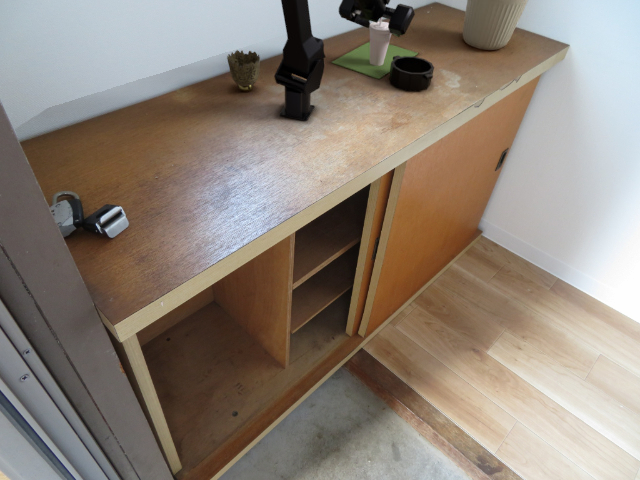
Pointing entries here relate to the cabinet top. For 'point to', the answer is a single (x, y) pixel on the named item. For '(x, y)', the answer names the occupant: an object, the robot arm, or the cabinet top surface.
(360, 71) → the cloth
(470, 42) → the canister
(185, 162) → the cabinet top surface
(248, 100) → the cabinet top surface
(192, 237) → the cabinet top surface
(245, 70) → the cup
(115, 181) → the cabinet top surface
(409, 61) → the pot
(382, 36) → the smoothie
